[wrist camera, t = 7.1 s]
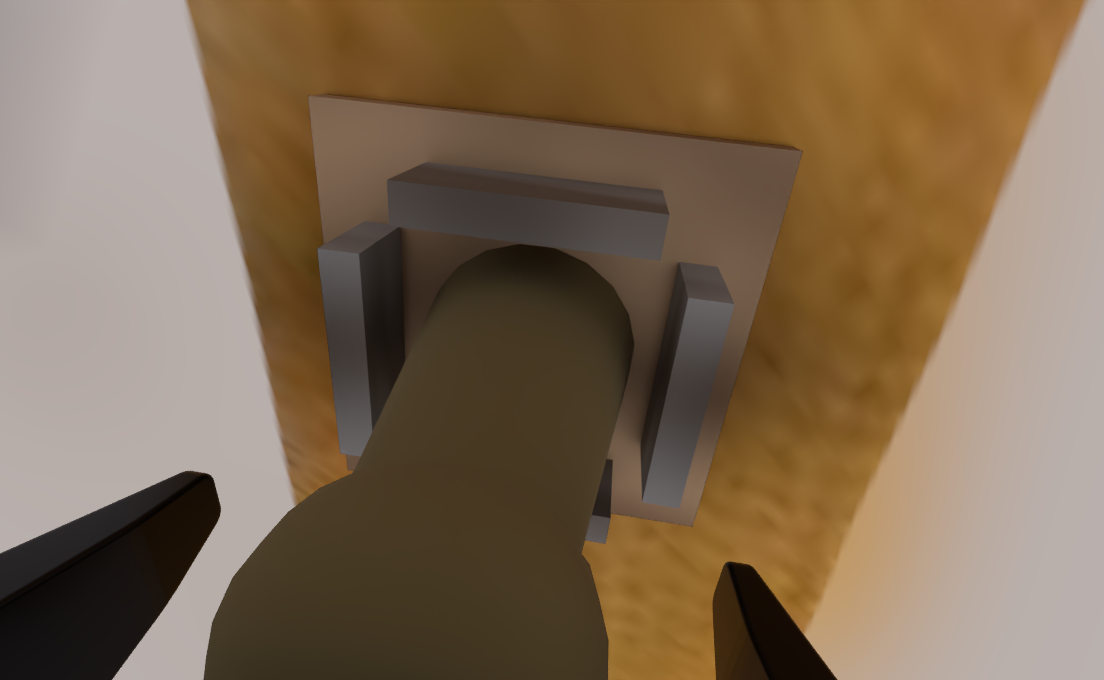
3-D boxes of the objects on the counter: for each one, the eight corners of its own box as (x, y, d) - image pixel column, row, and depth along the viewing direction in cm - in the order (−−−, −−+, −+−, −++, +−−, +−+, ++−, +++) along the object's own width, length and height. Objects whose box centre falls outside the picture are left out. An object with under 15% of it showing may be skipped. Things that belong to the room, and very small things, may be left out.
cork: (445, 428, 17) (210, 886, 8) (412, 247, 15) (-16, 593, 5) (634, 432, 16) (642, 954, 7) (634, 240, 14) (646, 645, 4)
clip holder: (690, 509, 19) (701, 591, 16) (358, 455, 19) (309, 523, 17) (793, 146, 13) (840, 169, 10) (323, 94, 14) (243, 100, 11)
